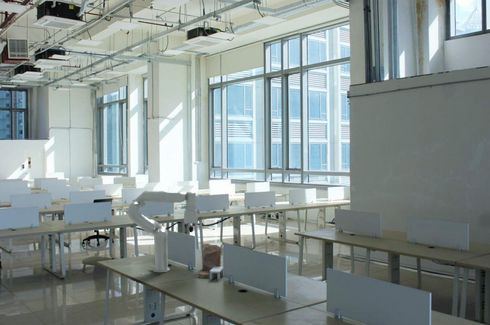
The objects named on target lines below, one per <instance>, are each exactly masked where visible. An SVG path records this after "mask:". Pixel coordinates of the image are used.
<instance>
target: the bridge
mask: <svg viewBox="0 0 490 325" xmlns="http://www.w3.org/2000/svg"><path fill="white" fill-rule="evenodd" d="M223 270H224V266H220V267H213V268H212V269H211V270H210V278H209V280H211V281H213V278H212V273H218V274H217V278H216V280H217V281H220V280H221V277H223V276H224V275H223ZM224 271H225V270H224Z"/></svg>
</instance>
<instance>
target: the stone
mask: <svg viewBox="0 0 490 325" xmlns="http://www.w3.org/2000/svg"><path fill="white" fill-rule="evenodd" d="M221 249H222V247H221V246H219V245H218V244H210V243H203V244H202V246H201V261H202V265H201V266H202V270H204V271H207V272H210V270H211V269H212V268H213V267H221V265H222V264H221V262H222V261H221V255H222V250H221Z"/></svg>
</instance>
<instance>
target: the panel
mask: <svg viewBox="0 0 490 325" xmlns="http://www.w3.org/2000/svg"><path fill="white" fill-rule="evenodd" d="M217 274H218V273H212V279H217ZM197 278H202V279H210V272H208V271H205V270H204V271H203V270H201V271H200V272H199V273H198V277H197Z"/></svg>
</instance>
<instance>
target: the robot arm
mask: <svg viewBox="0 0 490 325" xmlns="http://www.w3.org/2000/svg"><path fill="white" fill-rule="evenodd" d="M184 202H185V205H184V207H183V208H184V213H183V214H184V215H183V224H184V225H186V226H188V232H189V233H193V232H194V227H195V226H196V225H198V224H199V216H198V215H199V214H198V210H197V194H196V191H182V190H181V191H178V192H167V191H162V190H159V191H158V190H155V191H152V190H144V191H143V192H141V193H140V195H139V196H137V197H136V198H135V199H134V200H133V201H132V202H130V203H129V206H128V208H127V214H128V217H129V219H130V220H131V221H132V223H134V224H135V225H137V226H138V227H139V228H141V229H142V230H143V231H144V232H145V233H147V234H152V235H153V236H154V238H153V239H154V264H149V267H150V268H151V269H152V271H153V272H154V273H167V272H170V270H171V269H170V267H169V264H168V263H169V262H168V260H169V259H168V258H169V257H168V256H169V255H168V252H169V250H168V236H169V233H168V230H167V228H166V227H164V226H163V225H161V224H160V223H159V222H157V221H156V220H155V219H152V218H148V217H146V216H145V215H144V214H142V213H141V212H140V211H141V210H142V209H143V208H144V207H145V206H146V205H147V204H148V203H149V204H150V203H151V204H152V203H154V204H155V203H164V204H165V203H169V204H171V203H173V204H175V203H178V204H179V203H184Z"/></svg>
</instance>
